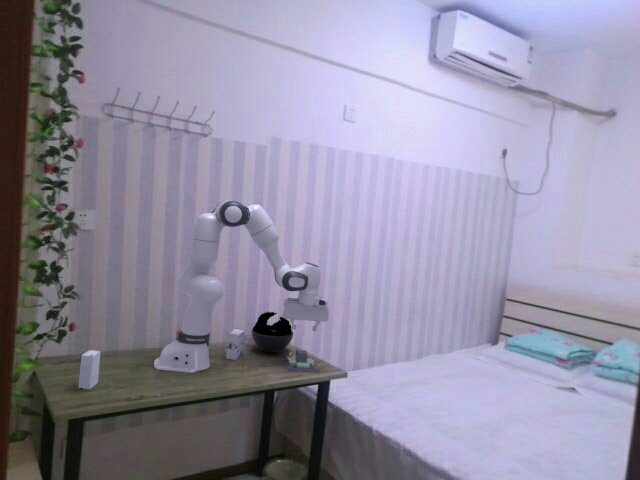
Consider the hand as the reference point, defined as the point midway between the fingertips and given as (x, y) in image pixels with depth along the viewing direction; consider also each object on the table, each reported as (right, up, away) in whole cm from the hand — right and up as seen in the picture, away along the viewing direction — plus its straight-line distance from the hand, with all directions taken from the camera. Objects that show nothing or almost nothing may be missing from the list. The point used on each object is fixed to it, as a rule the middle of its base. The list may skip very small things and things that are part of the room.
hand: (304, 329), depth 218 cm
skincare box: (-74, -12, -46) cm, 88 cm away
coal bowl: (-17, -14, +17) cm, 28 cm away
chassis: (-2, -16, +1) cm, 17 cm away
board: (-2, -15, +1) cm, 15 cm away
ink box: (-32, -13, +3) cm, 34 cm away
